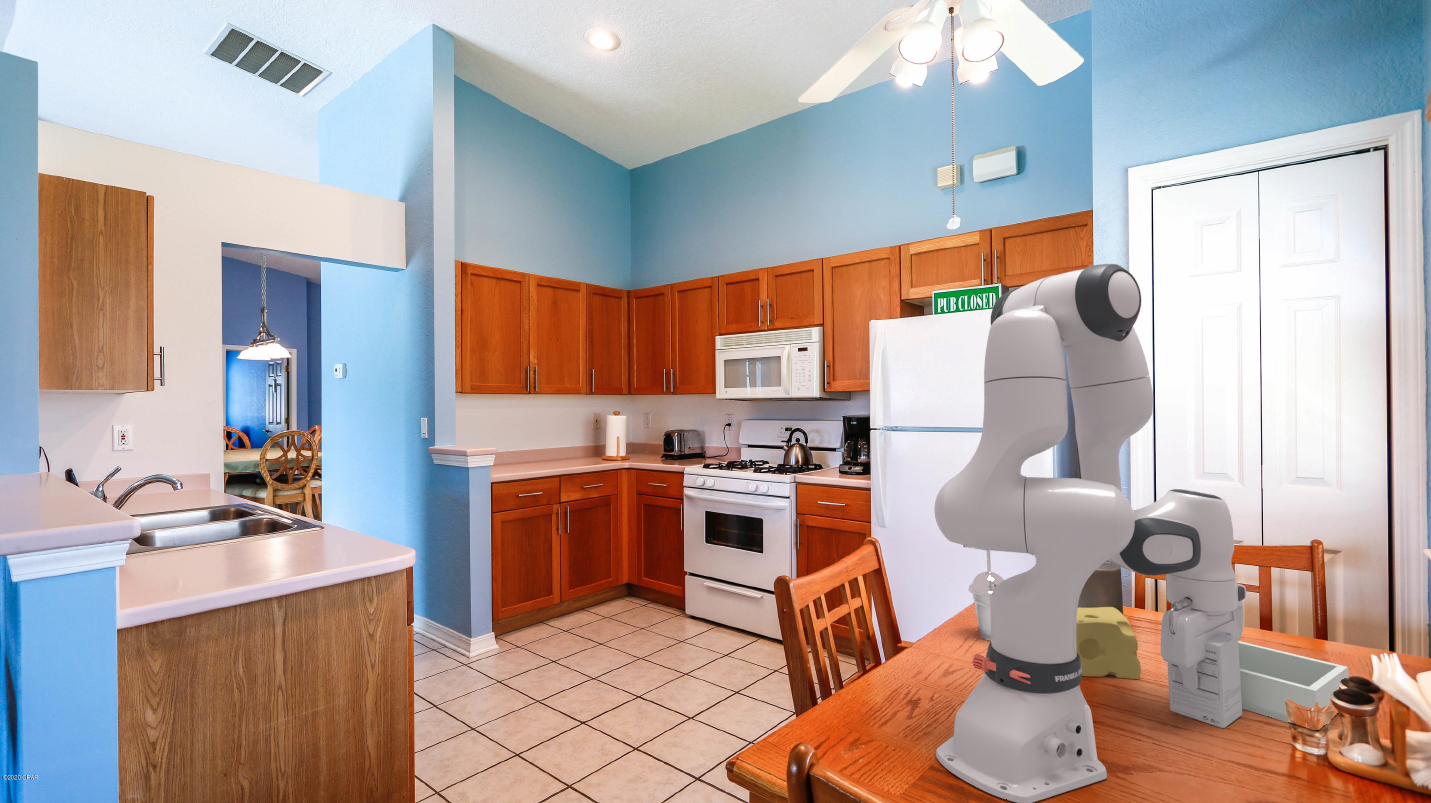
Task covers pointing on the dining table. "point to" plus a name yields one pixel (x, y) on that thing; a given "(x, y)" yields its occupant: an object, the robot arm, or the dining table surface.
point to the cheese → (1106, 643)
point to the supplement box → (1211, 684)
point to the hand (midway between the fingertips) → (1204, 680)
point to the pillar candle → (1103, 588)
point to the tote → (1284, 680)
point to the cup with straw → (984, 596)
